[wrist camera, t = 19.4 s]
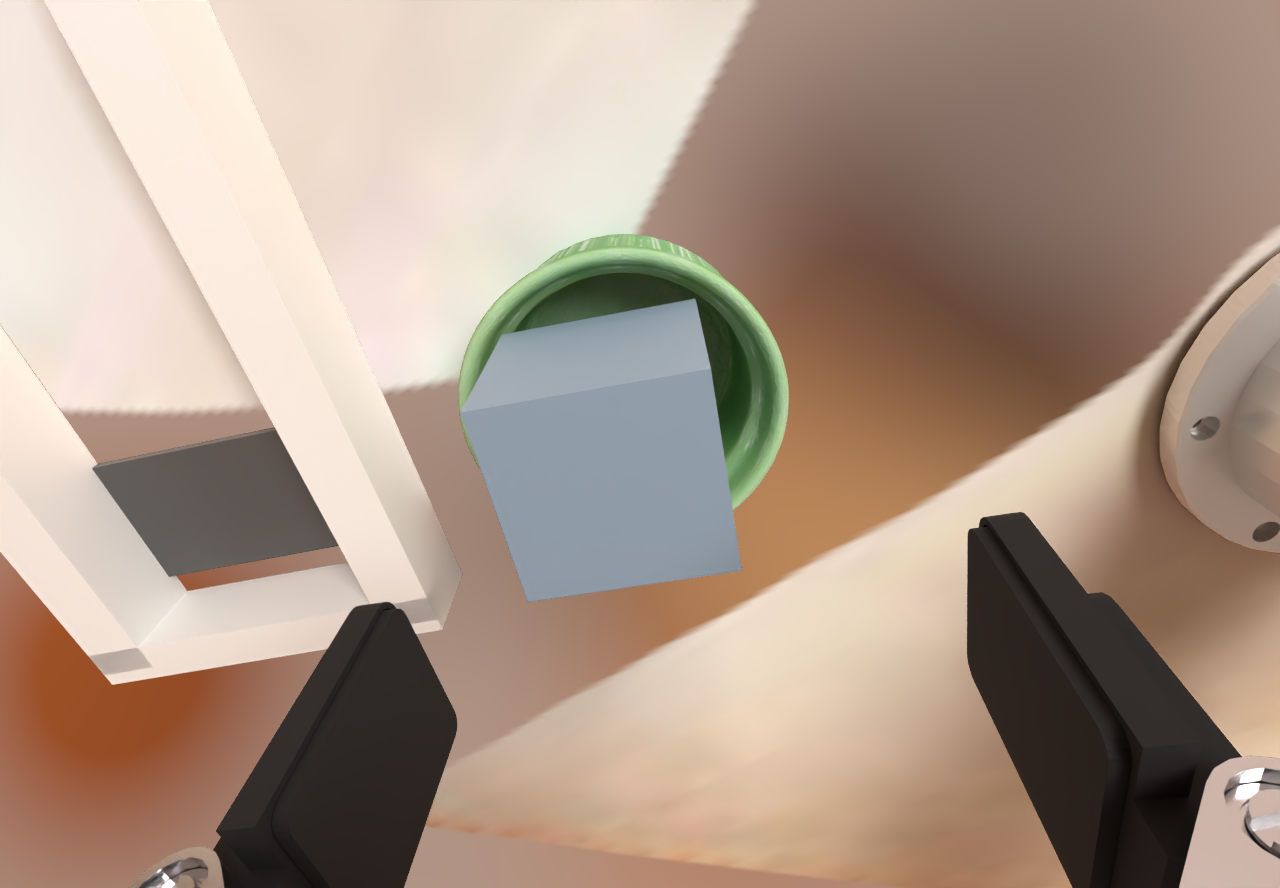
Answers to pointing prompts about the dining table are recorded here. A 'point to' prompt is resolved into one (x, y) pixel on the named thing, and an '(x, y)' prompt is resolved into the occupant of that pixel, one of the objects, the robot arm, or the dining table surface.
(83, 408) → the dining table surface
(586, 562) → the block
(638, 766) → the dining table surface
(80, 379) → the dining table surface
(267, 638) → the channel
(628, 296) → the ramekin
